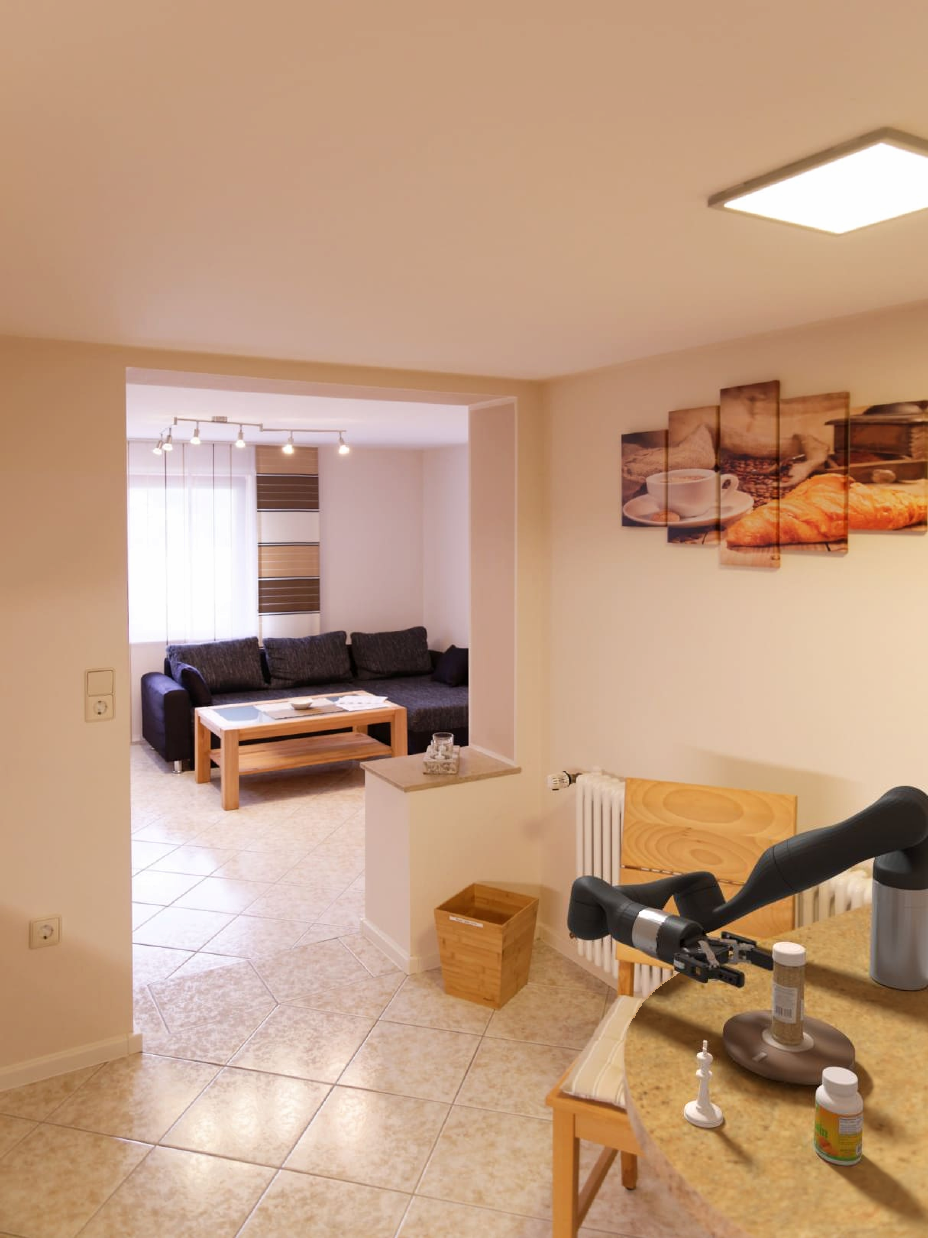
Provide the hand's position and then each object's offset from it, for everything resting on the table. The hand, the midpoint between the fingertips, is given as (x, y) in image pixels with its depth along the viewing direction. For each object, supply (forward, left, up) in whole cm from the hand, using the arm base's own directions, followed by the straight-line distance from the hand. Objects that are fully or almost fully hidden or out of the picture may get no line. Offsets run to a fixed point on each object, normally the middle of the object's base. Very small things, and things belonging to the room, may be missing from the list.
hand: (759, 972), depth 136 cm
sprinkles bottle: (-1, +4, -9) cm, 10 cm away
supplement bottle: (+14, +19, -12) cm, 27 cm away
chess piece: (+20, +4, -12) cm, 24 cm away
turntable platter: (-1, +4, -10) cm, 11 cm away
